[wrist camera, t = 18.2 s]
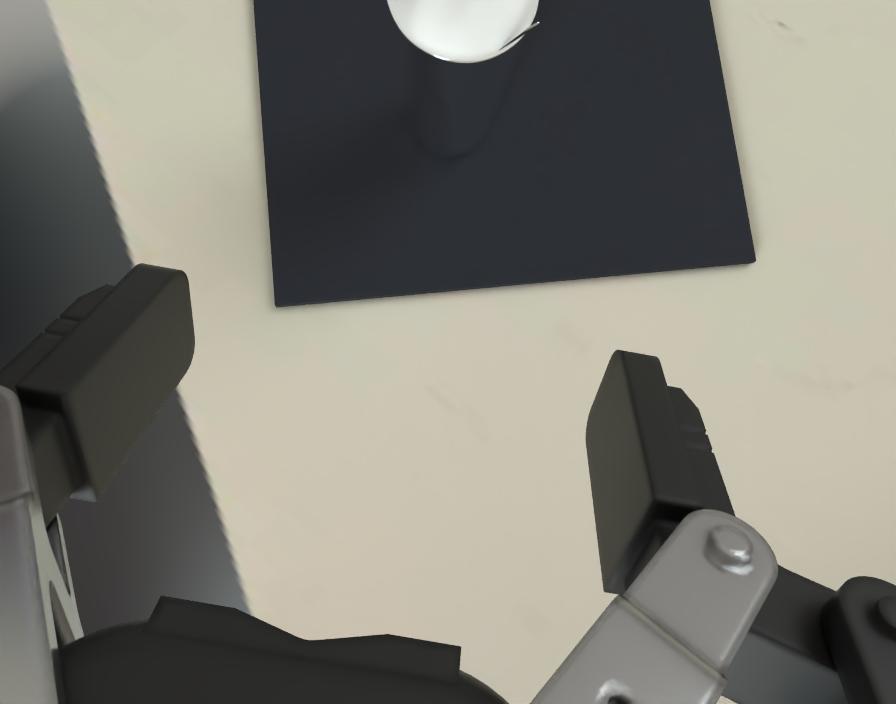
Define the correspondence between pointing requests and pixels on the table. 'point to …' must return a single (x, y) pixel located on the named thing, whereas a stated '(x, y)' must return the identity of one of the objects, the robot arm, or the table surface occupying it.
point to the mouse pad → (497, 155)
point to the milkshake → (457, 65)
